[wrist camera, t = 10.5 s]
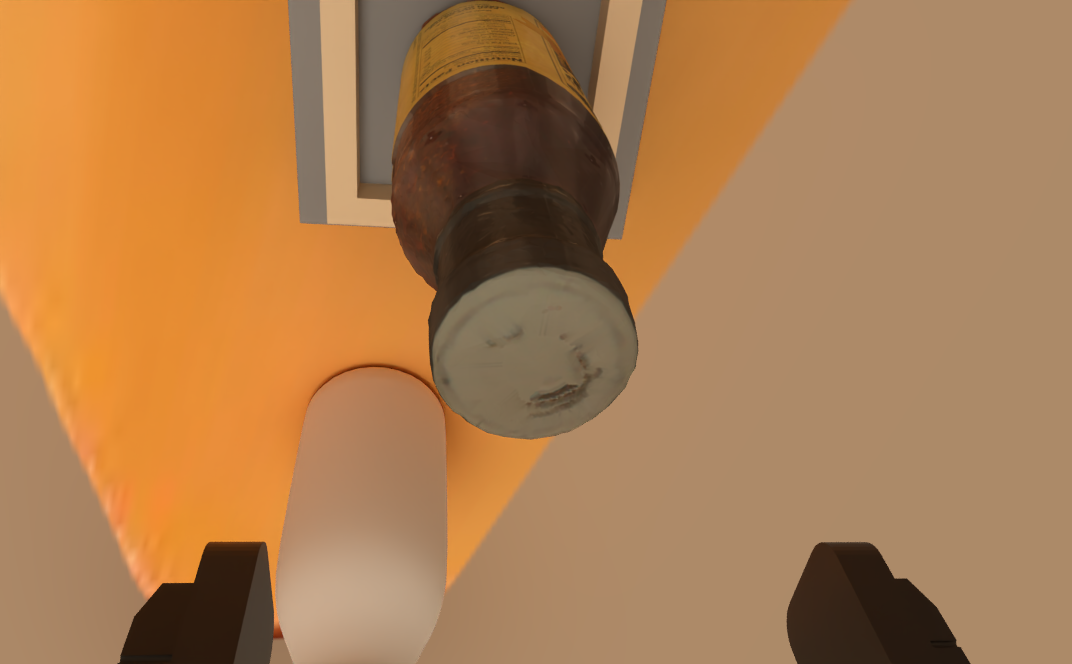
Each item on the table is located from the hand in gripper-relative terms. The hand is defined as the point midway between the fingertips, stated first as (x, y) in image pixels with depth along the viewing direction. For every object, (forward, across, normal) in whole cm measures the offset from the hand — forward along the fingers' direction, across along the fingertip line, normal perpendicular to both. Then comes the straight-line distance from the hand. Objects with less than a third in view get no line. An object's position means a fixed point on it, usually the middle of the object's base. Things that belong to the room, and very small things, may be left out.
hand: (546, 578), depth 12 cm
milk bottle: (+29, +4, +21) cm, 36 cm away
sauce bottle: (+25, 0, 0) cm, 25 cm away
